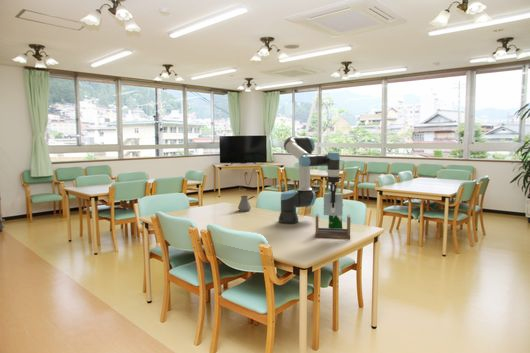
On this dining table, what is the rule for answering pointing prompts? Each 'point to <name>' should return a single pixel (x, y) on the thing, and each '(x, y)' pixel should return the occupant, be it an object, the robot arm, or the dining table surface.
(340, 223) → the milk carton
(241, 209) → the coffee pot
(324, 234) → the track frame
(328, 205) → the door panel
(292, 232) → the dining table surface
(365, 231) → the dining table surface
